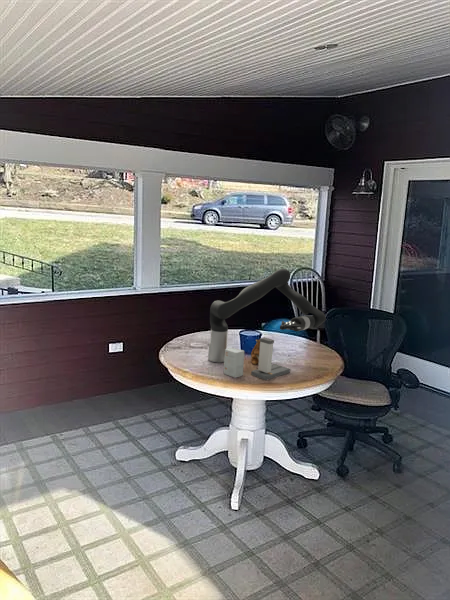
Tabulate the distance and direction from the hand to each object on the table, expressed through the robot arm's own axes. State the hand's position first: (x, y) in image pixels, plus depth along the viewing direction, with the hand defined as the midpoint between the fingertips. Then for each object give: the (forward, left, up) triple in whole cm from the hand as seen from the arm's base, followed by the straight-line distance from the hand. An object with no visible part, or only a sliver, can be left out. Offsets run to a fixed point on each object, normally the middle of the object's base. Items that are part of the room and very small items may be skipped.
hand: (281, 327), depth 258 cm
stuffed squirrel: (-14, +12, -24) cm, 30 cm away
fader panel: (-2, -5, -24) cm, 24 cm away
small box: (-20, -16, -24) cm, 35 cm away
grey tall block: (-5, -10, -21) cm, 24 cm away
